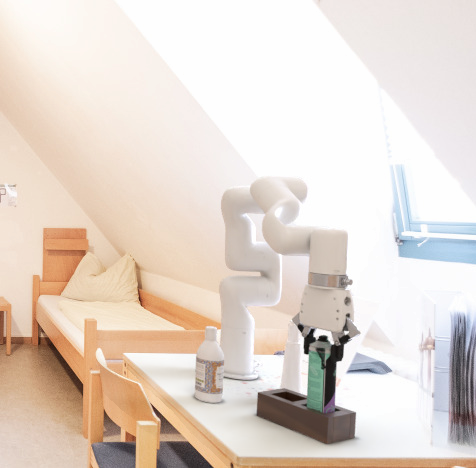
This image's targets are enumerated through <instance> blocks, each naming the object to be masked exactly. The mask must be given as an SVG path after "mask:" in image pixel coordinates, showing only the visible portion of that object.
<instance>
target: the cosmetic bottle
mask: <svg viewBox="0 0 476 468" xmlns="http://www.w3.org/2000/svg"><path fill="white" fill-rule="evenodd" d="M300 336H301V332H300V330H299V329H298V327H297V326H296V325H295V323H294V322H293V321H292V319H289V323H288V327H287V340H285V343H284V351H283V364H282V373H281V380H280V381H281V382H280V385H279V389H282V388H285V389H288V390H291V391H294V392H297V393H300V394H303V387H302V386H303V383H302V381H303V380H302V343H301V340H300Z"/></svg>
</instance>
